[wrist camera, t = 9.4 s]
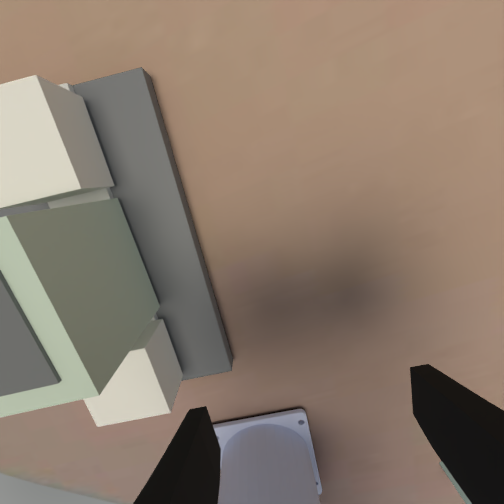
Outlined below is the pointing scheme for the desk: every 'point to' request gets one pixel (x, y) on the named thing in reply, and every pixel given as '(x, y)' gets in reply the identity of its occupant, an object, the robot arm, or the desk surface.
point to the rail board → (135, 211)
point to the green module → (68, 303)
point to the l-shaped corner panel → (455, 484)
